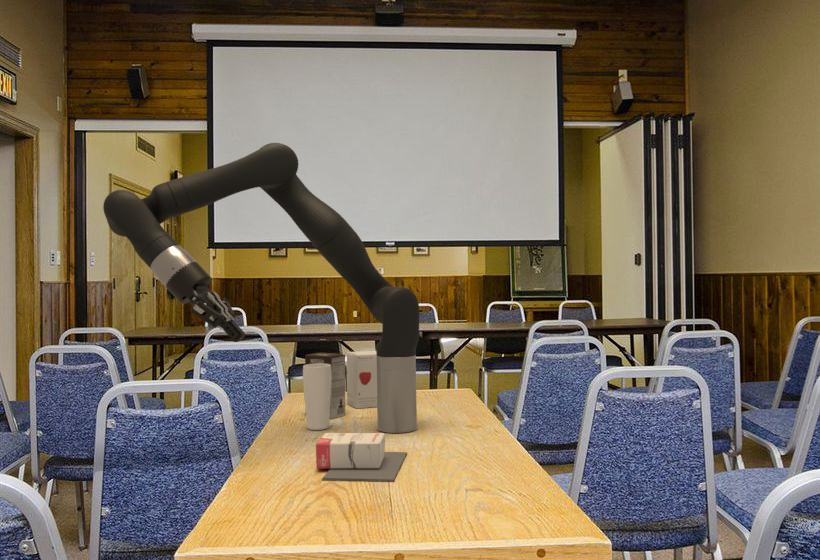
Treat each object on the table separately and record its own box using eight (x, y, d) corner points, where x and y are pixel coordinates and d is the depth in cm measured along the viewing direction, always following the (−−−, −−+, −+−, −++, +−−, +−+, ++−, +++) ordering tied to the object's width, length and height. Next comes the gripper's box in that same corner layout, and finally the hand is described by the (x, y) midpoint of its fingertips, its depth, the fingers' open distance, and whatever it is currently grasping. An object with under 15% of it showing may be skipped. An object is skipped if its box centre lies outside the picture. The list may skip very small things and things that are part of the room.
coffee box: (304, 416, 167) (303, 354, 167) (320, 411, 172) (319, 352, 172) (331, 419, 162) (330, 356, 162) (347, 415, 167) (346, 353, 167)
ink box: (315, 469, 116) (380, 470, 115) (315, 442, 116) (379, 442, 115) (325, 457, 124) (385, 457, 124) (325, 431, 125) (385, 432, 124)
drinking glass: (298, 430, 150) (297, 366, 150) (313, 424, 156) (312, 363, 156) (323, 432, 147) (322, 367, 148) (337, 426, 154) (336, 363, 154)
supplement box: (356, 409, 175) (355, 354, 175) (346, 404, 183) (345, 351, 183) (387, 406, 179) (386, 352, 179) (376, 401, 187) (375, 350, 187)
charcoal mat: (345, 453, 129) (345, 451, 129) (406, 454, 127) (406, 452, 127) (322, 480, 111) (322, 477, 111) (393, 481, 109) (393, 479, 109)
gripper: (177, 259, 117) (241, 328, 116) (208, 261, 130) (266, 322, 129) (150, 288, 118) (213, 356, 116) (183, 286, 131) (240, 348, 130)
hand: (240, 338), depth 123 cm, fingers closed
